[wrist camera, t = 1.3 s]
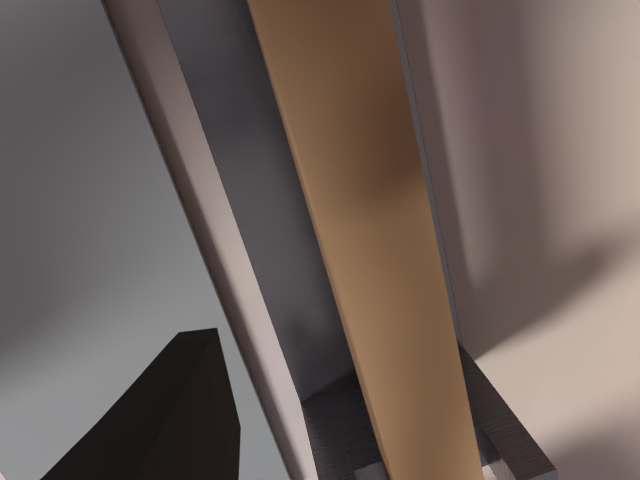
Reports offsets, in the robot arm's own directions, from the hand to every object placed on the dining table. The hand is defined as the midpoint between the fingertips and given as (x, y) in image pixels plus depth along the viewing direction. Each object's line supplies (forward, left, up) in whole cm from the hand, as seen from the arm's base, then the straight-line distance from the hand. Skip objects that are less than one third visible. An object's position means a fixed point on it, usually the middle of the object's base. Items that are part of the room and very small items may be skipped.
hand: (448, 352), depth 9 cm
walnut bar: (0, 0, -7) cm, 7 cm away
